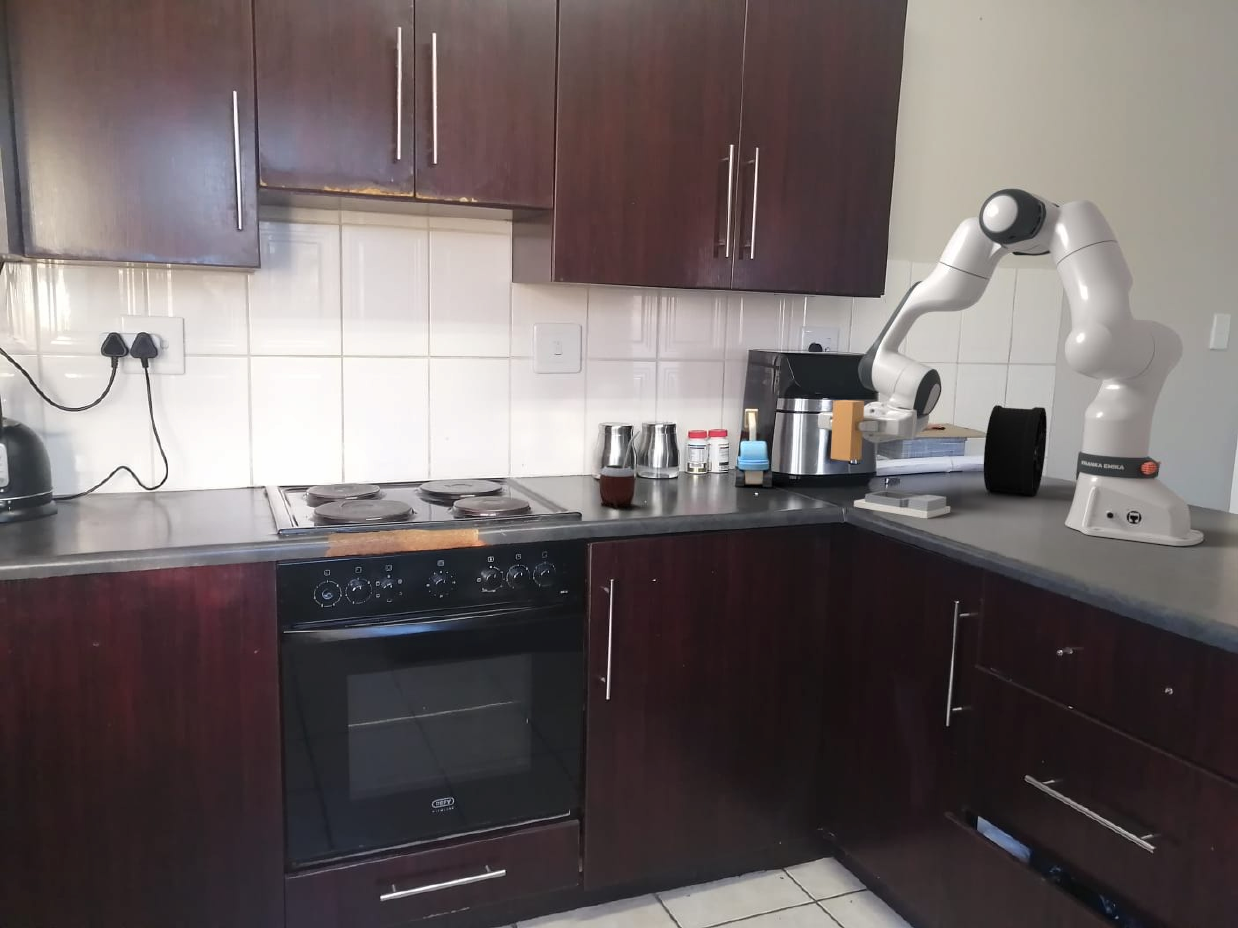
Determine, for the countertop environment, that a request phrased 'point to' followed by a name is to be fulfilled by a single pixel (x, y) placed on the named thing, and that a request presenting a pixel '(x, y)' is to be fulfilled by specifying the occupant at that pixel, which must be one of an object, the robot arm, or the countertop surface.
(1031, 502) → the countertop surface
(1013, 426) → the car wheel rim
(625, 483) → the mate gourd
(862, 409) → the tall tan wooden block
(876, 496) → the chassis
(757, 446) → the toy excavator
